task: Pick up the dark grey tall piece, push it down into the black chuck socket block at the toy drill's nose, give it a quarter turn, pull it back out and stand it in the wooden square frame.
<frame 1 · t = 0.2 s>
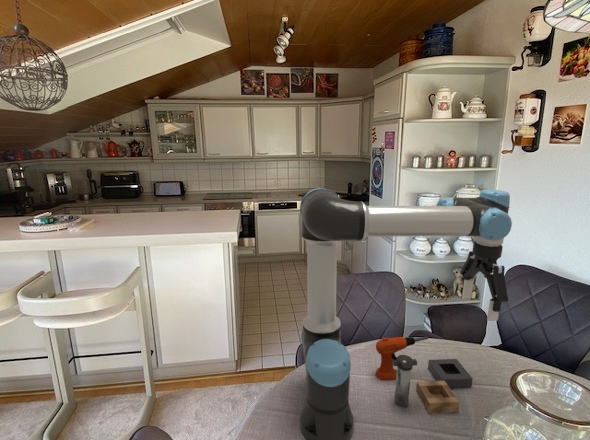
hand: (478, 308, 105), 28 cm above the table, fingers open, 13 cm apart
toy drill: (399, 374, 116), on the table
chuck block: (448, 377, 114), on the table
dark grey tall piece: (401, 402, 104), on the table
wooden square frame: (436, 401, 104), on the table
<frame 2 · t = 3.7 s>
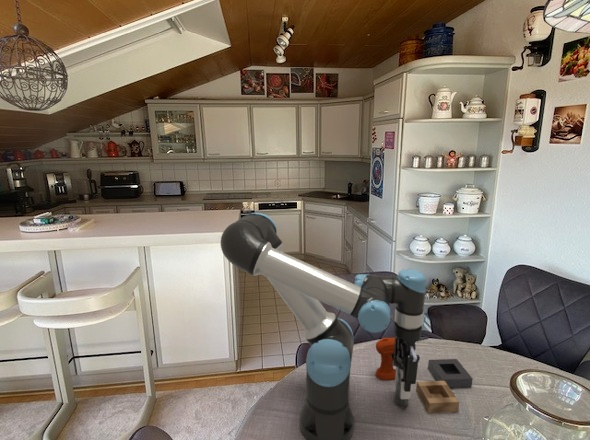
hand: (402, 392, 103), 4 cm above the table, fingers closed on dark grey tall piece, 4 cm apart
dark grey tall piece: (401, 402, 104), on the table, touching gripper
everything else where it was.
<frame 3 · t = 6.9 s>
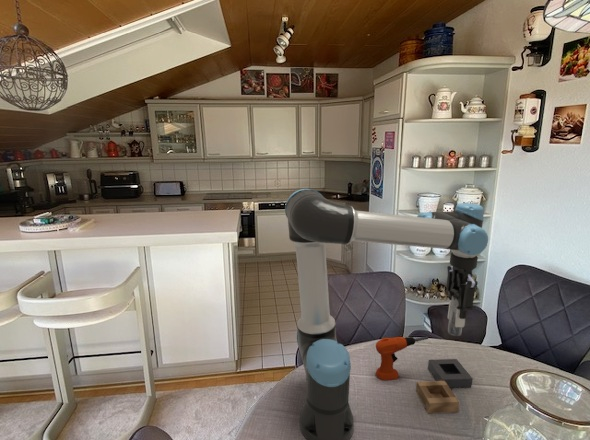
hand: (455, 322, 110), 21 cm above the table, fingers closed on dark grey tall piece, 4 cm apart
dark grey tall piece: (454, 332, 111), point 17 cm above the table, touching gripper
everything else where it was.
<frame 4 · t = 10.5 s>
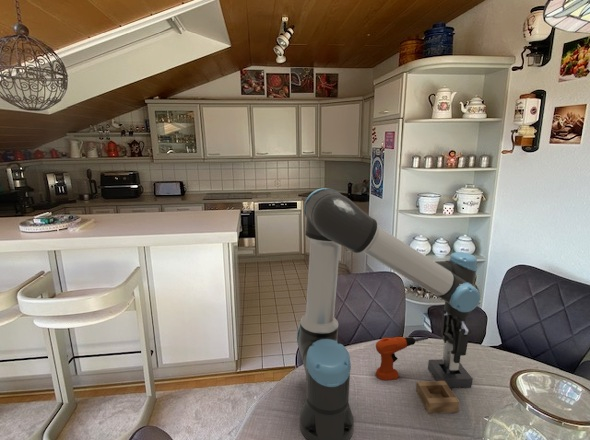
hand: (450, 364, 113), 5 cm above the table, fingers closed on dark grey tall piece, 4 cm apart
dark grey tall piece: (449, 374, 114), point 1 cm above the table, touching gripper
everything else where it was.
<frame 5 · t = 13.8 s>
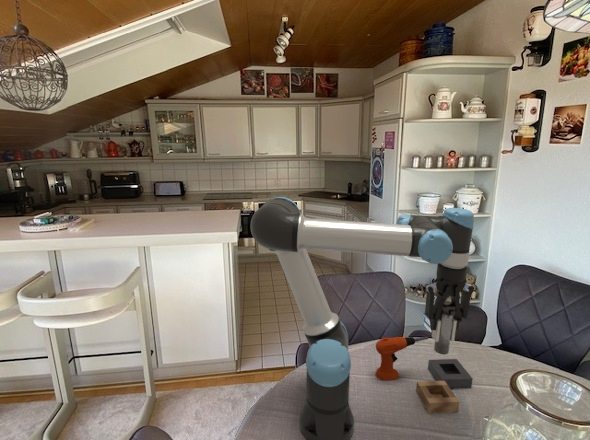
hand: (442, 338, 100), 21 cm above the table, fingers closed on dark grey tall piece, 4 cm apart
dark grey tall piece: (441, 350, 101), point 17 cm above the table, touching gripper
everything else where it was.
when the fingers open (5 cm above the table, at t = 17.2 s): dark grey tall piece stays where it is, resting on wooden square frame.
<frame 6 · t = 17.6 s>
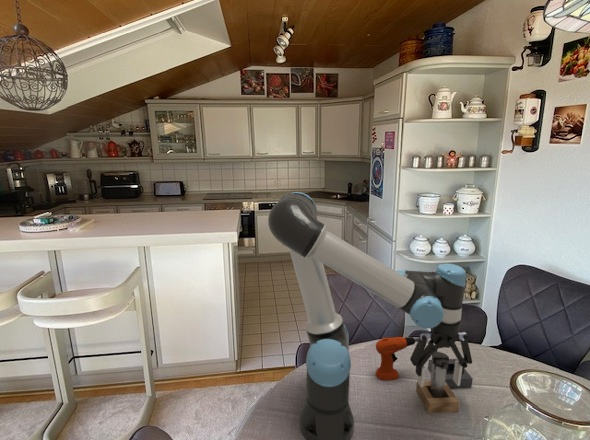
hand: (438, 383, 103), 6 cm above the table, fingers open, 10 cm apart
dark grey tall piece: (436, 399, 104), point 1 cm above the table, touching wooden square frame
everything else where it was.
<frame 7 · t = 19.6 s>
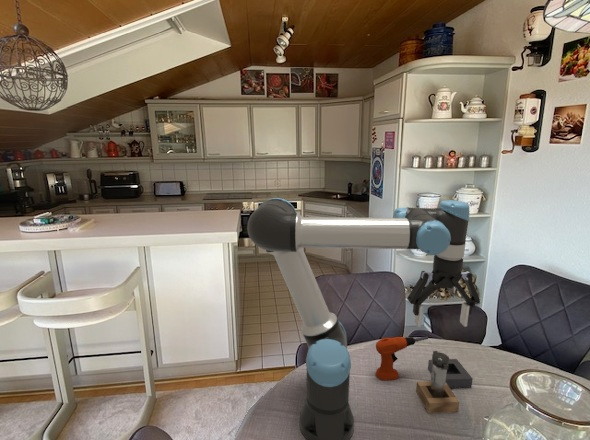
hand: (440, 324, 100), 25 cm above the table, fingers open, 13 cm apart
nothing on the table moved.
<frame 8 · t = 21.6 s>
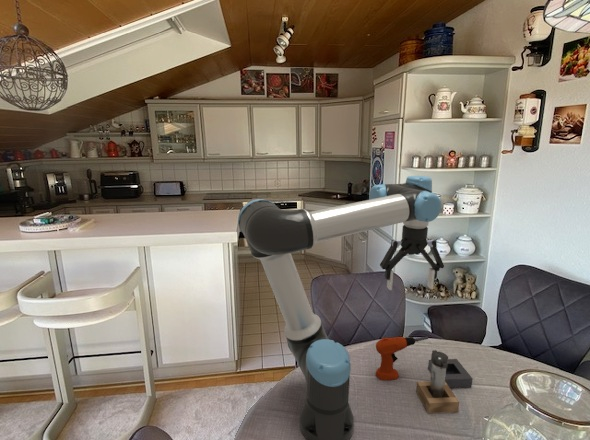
hand: (409, 288, 111), 31 cm above the table, fingers open, 13 cm apart
nothing on the table moved.
at the end: dark grey tall piece 0.1 cm off-centre on the wooden square frame, point 0.5 cm above the wooden square frame's base; the gripper is holding nothing; dark grey tall piece moved 10.9 cm from its start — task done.
